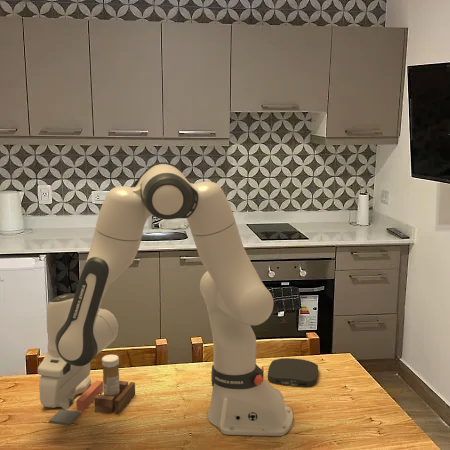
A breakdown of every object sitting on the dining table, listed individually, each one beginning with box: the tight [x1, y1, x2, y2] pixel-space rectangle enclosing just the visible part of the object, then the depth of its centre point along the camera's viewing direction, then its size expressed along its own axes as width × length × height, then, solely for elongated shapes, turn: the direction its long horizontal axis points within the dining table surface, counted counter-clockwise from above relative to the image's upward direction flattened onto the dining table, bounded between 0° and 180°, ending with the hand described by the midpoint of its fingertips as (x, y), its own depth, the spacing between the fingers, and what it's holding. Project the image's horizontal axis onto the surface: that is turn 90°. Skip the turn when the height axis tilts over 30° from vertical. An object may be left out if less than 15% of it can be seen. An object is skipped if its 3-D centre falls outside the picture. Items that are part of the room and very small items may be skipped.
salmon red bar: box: [76, 379, 104, 412], centre depth 162 cm, size 2×12×3 cm, turn 166°
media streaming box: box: [267, 357, 319, 388], centre depth 177 cm, size 15×15×3 cm
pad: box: [48, 408, 82, 426], centre depth 152 cm, size 6×6×1 cm
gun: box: [43, 376, 92, 408], centre depth 164 cm, size 18×3×10 cm
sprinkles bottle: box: [101, 354, 120, 399], centre depth 159 cm, size 5×5×13 cm
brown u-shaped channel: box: [93, 380, 136, 416], centre depth 160 cm, size 7×11×4 cm, turn 166°
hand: (68, 406), depth 150 cm, fingers closed
